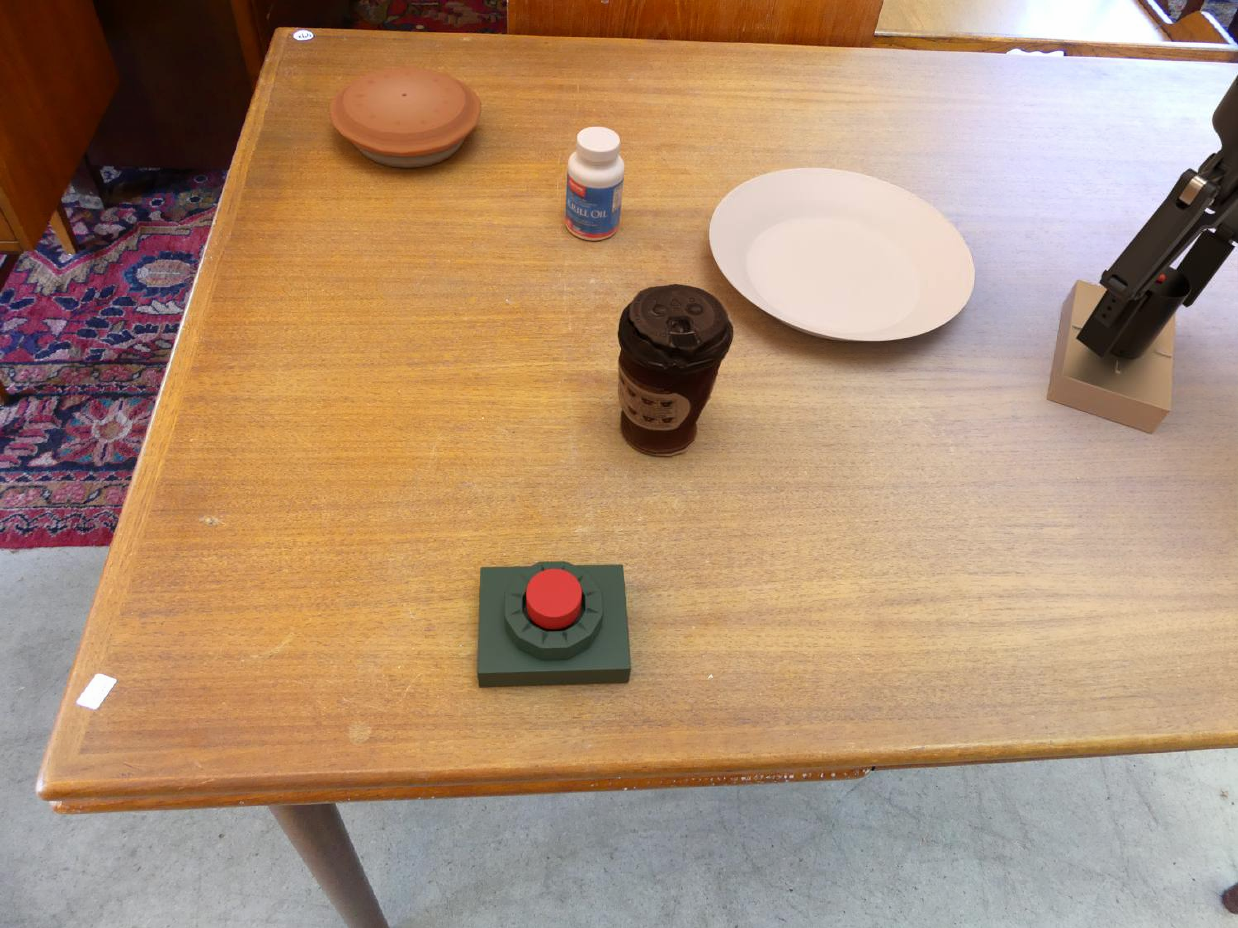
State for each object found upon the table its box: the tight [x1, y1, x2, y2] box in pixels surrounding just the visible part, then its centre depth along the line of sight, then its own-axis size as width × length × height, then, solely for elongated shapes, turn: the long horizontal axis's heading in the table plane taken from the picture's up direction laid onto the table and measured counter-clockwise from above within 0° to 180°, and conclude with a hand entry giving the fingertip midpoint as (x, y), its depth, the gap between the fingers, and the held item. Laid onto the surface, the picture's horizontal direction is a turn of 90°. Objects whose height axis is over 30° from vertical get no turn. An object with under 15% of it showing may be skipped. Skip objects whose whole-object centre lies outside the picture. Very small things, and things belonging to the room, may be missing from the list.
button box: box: [476, 560, 632, 688], centre depth 62 cm, size 10×8×4 cm
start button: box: [526, 569, 582, 630], centre depth 60 cm, size 4×4×2 cm
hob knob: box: [1110, 266, 1191, 358], centre depth 79 cm, size 4×4×7 cm
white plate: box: [708, 167, 976, 342], centre depth 88 cm, size 25×25×4 cm
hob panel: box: [1046, 279, 1177, 434], centre depth 83 cm, size 14×9×3 cm, turn 157°
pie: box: [328, 66, 482, 169], centre depth 96 cm, size 15×16×5 cm
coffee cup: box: [617, 283, 734, 457], centre depth 70 cm, size 9×8×13 cm
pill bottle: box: [564, 126, 626, 242], centre depth 87 cm, size 6×5×10 cm
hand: (1134, 321), depth 80 cm, fingers open, 12 cm apart
